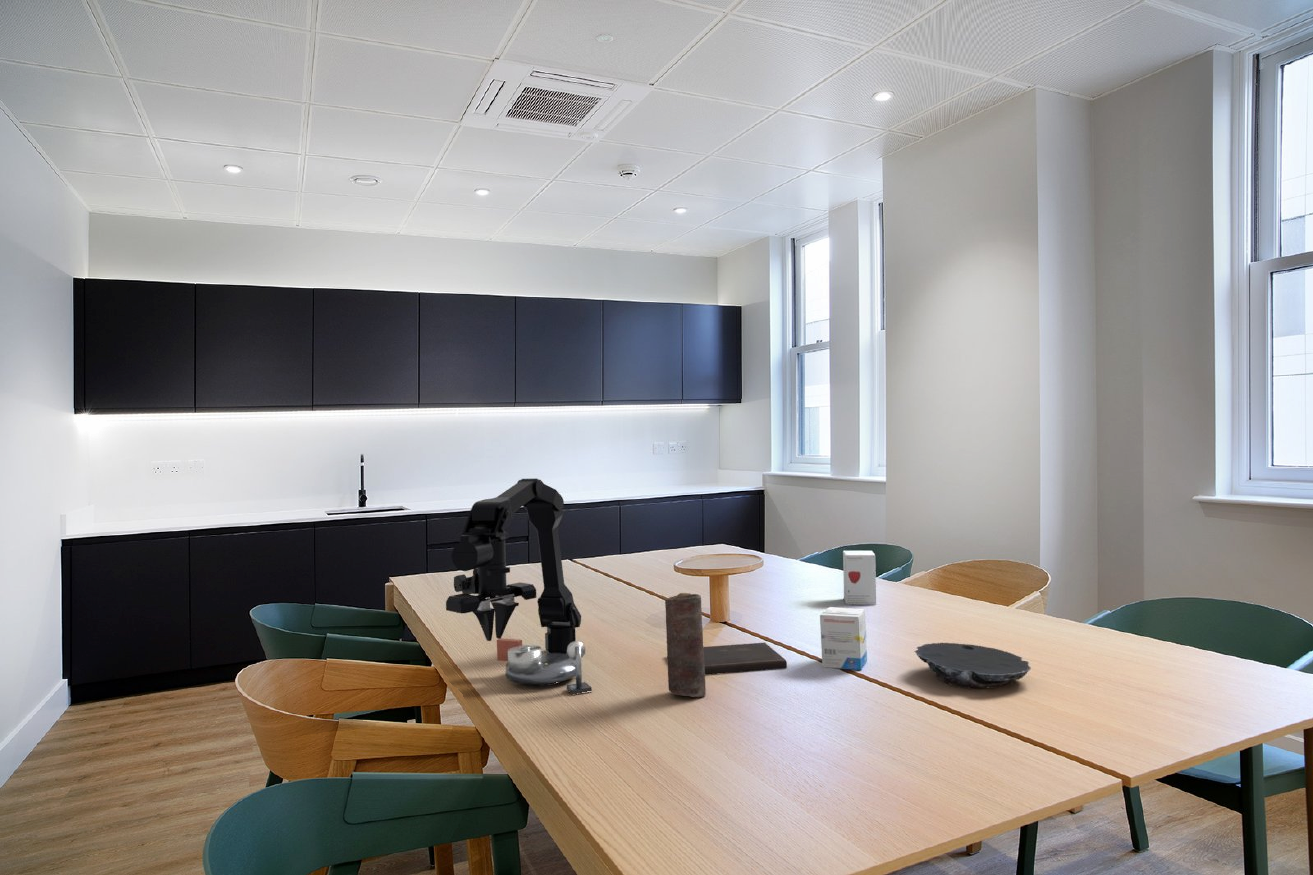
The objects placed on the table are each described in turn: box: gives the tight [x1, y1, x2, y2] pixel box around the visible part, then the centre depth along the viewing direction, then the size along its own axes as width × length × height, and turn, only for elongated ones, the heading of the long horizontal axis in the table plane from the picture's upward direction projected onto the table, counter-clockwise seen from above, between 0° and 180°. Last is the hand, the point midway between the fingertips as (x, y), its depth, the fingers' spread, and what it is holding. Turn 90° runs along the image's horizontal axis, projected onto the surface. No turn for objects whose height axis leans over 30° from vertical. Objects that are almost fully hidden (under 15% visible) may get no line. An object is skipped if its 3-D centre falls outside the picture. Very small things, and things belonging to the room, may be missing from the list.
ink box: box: [819, 606, 868, 671], centre depth 175 cm, size 9×8×12 cm
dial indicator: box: [566, 640, 593, 695], centre depth 163 cm, size 4×6×10 cm, turn 24°
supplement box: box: [842, 550, 877, 606], centre depth 239 cm, size 9×9×15 cm
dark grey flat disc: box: [913, 642, 1032, 691], centre depth 163 cm, size 22×22×5 cm
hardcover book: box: [703, 642, 788, 675], centre depth 179 cm, size 16×23×2 cm
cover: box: [507, 644, 543, 674], centre depth 167 cm, size 7×7×5 cm
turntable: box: [496, 637, 576, 685], centre depth 171 cm, size 16×16×6 cm
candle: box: [664, 592, 707, 698], centre depth 157 cm, size 8×7×20 cm
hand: (493, 639), depth 161 cm, fingers open, 2 cm apart
